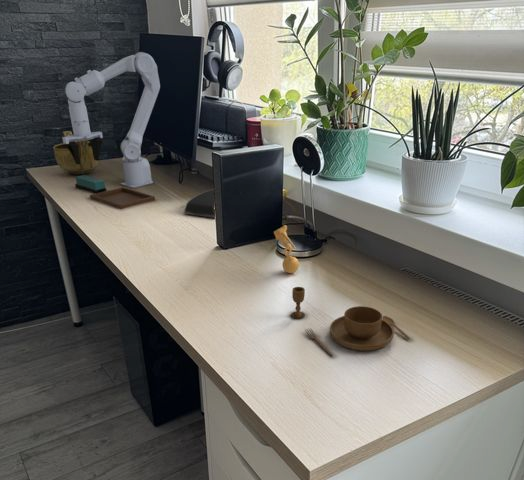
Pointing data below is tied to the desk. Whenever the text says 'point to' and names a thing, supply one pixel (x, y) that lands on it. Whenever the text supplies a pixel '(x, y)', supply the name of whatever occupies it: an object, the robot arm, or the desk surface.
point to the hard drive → (201, 205)
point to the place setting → (354, 326)
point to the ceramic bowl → (67, 160)
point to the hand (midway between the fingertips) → (87, 162)
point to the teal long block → (90, 184)
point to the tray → (122, 197)
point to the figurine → (289, 262)
